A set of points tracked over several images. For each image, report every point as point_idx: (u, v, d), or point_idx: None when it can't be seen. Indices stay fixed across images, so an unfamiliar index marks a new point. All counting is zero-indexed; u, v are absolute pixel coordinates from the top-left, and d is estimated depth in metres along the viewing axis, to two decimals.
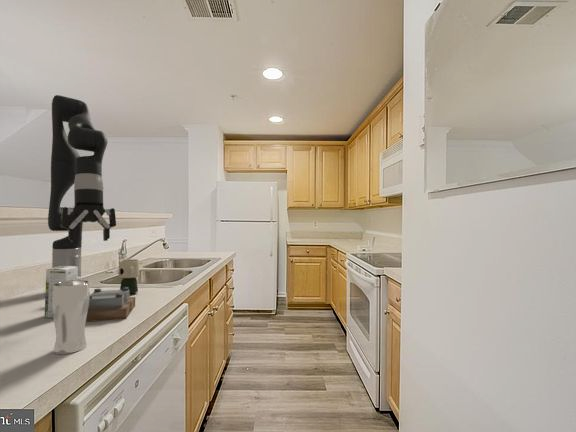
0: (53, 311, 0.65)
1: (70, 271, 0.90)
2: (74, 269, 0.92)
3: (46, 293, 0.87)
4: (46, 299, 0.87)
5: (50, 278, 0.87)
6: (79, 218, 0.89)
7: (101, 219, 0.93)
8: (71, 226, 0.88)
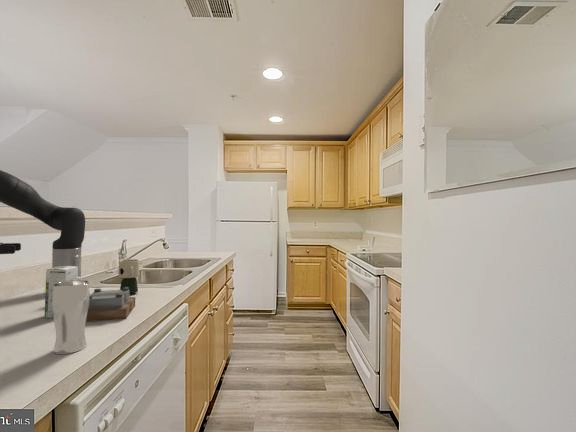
0: (53, 311, 0.65)
1: (70, 271, 0.90)
2: (74, 269, 0.91)
3: (46, 293, 0.87)
4: (46, 299, 0.87)
5: (50, 278, 0.87)
6: None
7: None
8: None
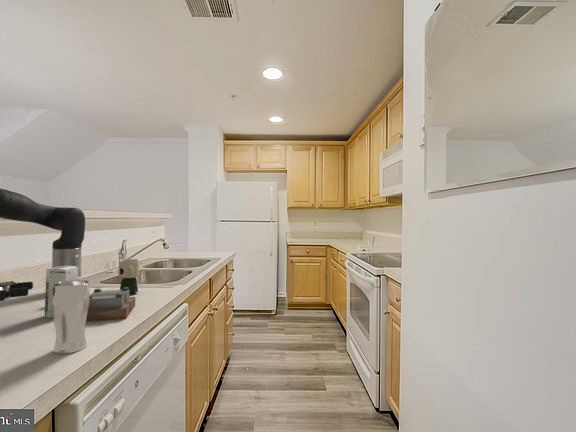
0: (53, 311, 0.65)
1: (70, 271, 0.90)
2: (74, 269, 0.91)
3: (46, 293, 0.87)
4: (46, 299, 0.87)
5: (50, 278, 0.87)
6: None
7: None
8: None
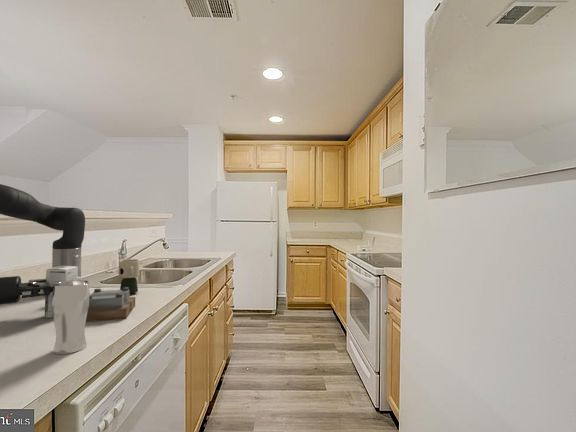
0: (53, 311, 0.65)
1: (70, 271, 0.90)
2: (74, 269, 0.91)
3: None
4: (46, 299, 0.87)
5: (50, 278, 0.87)
6: None
7: None
8: None
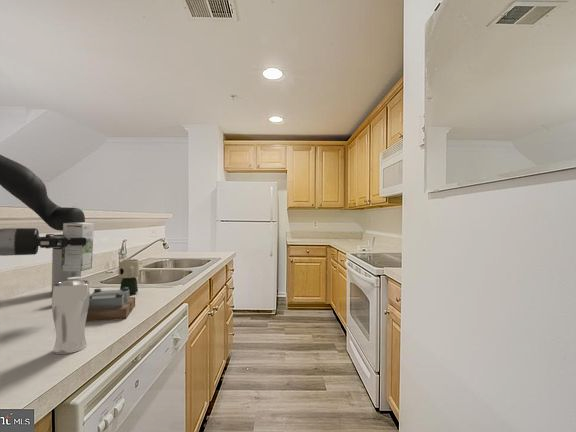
0: (53, 311, 0.65)
1: (86, 226, 0.90)
2: (90, 225, 0.92)
3: (63, 247, 0.88)
4: (63, 253, 0.88)
5: (67, 232, 0.88)
6: None
7: (58, 247, 0.86)
8: None
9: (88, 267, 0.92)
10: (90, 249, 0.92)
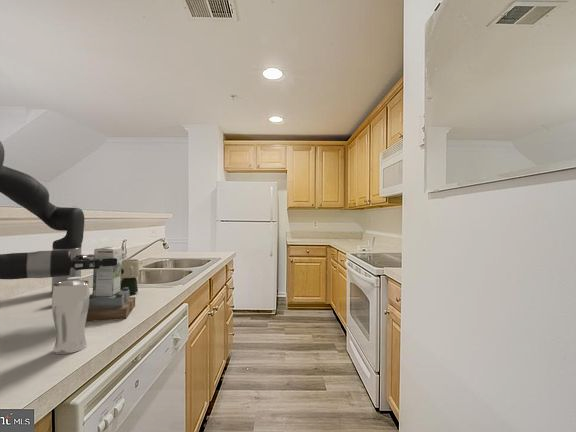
0: (53, 311, 0.65)
1: (116, 251, 0.91)
2: (119, 250, 0.93)
3: (94, 272, 0.89)
4: (94, 278, 0.89)
5: (98, 257, 0.89)
6: None
7: None
8: None
9: (118, 291, 0.93)
10: (119, 273, 0.94)
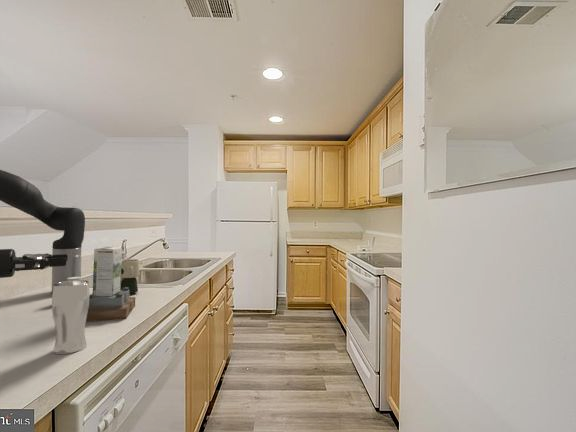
0: (53, 311, 0.65)
1: (116, 251, 0.91)
2: (119, 250, 0.93)
3: (94, 272, 0.89)
4: (94, 278, 0.89)
5: (98, 257, 0.89)
6: None
7: None
8: None
9: (118, 291, 0.93)
10: (119, 273, 0.94)
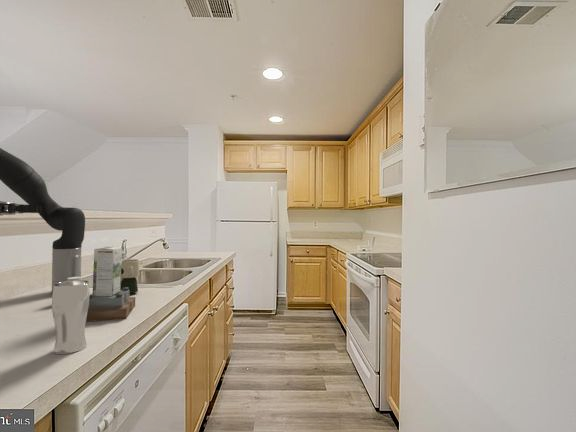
0: (53, 311, 0.65)
1: (116, 251, 0.91)
2: (119, 250, 0.93)
3: (94, 272, 0.89)
4: (94, 278, 0.89)
5: (98, 257, 0.89)
6: None
7: (5, 214, 0.79)
8: None
9: (118, 291, 0.93)
10: (119, 273, 0.94)
